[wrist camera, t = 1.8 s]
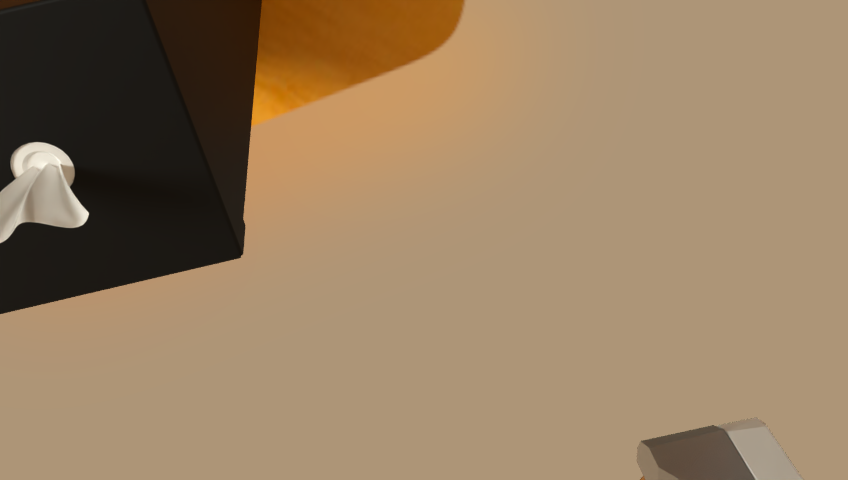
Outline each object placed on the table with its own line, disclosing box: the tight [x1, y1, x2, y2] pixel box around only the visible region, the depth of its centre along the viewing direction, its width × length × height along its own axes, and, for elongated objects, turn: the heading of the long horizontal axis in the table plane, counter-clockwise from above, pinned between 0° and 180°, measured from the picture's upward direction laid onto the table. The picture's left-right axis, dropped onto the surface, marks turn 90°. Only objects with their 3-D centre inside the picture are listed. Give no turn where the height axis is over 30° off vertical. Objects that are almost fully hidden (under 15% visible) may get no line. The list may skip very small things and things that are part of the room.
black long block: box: [0, 0, 262, 314], centre depth 29 cm, size 8×8×28 cm
